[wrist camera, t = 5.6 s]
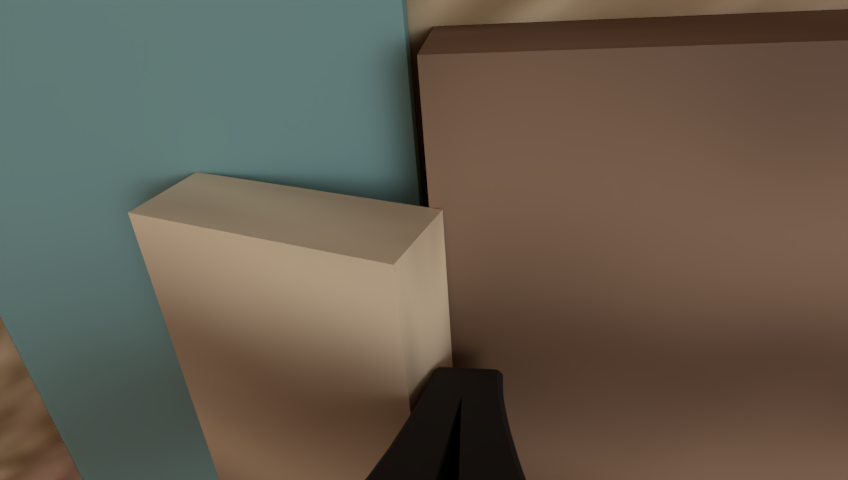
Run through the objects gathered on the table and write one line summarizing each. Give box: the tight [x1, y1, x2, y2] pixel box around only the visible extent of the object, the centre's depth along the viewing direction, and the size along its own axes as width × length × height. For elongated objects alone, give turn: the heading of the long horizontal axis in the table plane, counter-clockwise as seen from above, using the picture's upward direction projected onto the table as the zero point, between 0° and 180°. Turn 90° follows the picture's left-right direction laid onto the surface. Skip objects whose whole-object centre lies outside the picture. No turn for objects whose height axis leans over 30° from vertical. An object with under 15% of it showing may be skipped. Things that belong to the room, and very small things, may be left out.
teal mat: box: [0, 0, 423, 480], centre depth 17 cm, size 16×12×1 cm
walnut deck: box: [417, 9, 848, 480], centre depth 14 cm, size 14×10×2 cm
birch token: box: [128, 172, 453, 480], centre depth 15 cm, size 8×6×2 cm
